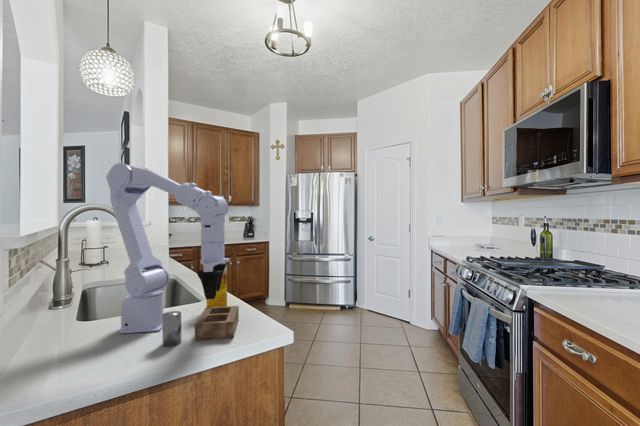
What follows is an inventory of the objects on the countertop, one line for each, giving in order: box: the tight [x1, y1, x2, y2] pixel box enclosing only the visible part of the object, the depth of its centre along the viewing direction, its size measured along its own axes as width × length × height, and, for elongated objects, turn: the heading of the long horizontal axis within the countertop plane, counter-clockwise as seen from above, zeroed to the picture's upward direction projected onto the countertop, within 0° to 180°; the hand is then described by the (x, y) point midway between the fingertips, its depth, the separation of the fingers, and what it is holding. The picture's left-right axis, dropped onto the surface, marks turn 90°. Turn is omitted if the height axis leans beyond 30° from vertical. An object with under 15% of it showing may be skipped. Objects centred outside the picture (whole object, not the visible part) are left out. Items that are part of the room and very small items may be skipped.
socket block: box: [194, 305, 240, 342], centre depth 81 cm, size 9×13×4 cm
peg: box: [162, 310, 182, 348], centre depth 72 cm, size 4×4×7 cm
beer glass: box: [206, 262, 228, 307], centre depth 96 cm, size 6×6×15 cm
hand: (212, 294), depth 79 cm, fingers open, 7 cm apart
